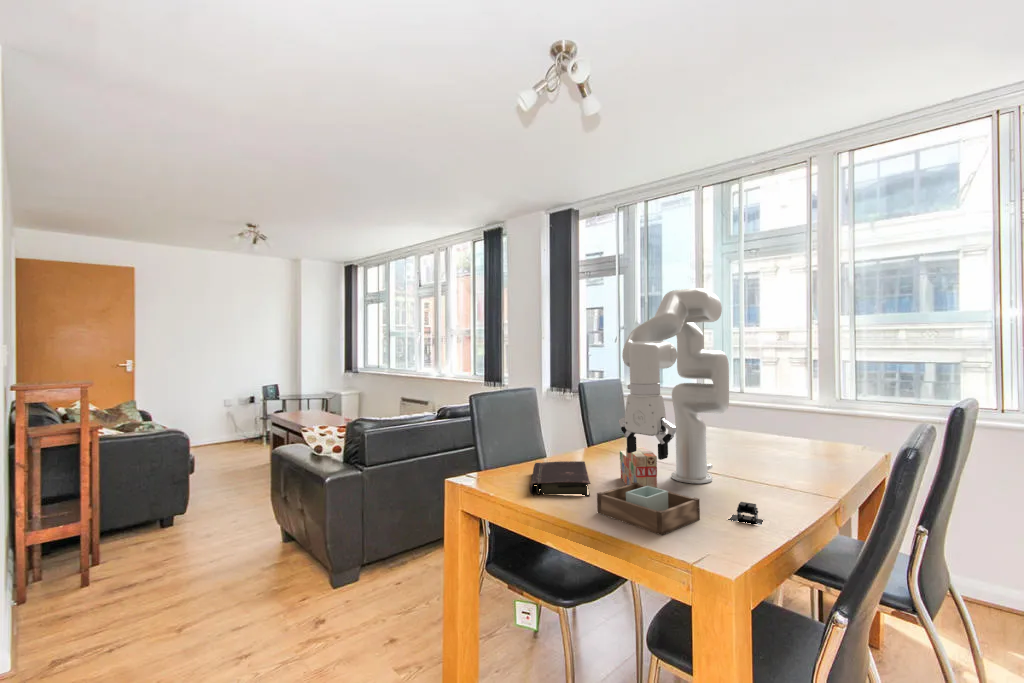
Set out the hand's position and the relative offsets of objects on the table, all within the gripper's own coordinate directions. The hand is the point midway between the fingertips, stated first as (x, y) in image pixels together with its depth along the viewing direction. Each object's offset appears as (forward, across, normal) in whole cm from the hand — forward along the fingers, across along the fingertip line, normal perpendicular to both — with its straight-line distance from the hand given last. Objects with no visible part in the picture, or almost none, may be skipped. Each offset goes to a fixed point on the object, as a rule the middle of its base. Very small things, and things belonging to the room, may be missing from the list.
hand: (646, 455), depth 125 cm
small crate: (+15, 0, -1) cm, 15 cm away
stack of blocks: (+17, -18, +18) cm, 31 cm away
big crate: (+16, 0, -1) cm, 16 cm away
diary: (+17, -36, +2) cm, 39 cm away
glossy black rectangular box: (+17, +18, +16) cm, 29 cm away
